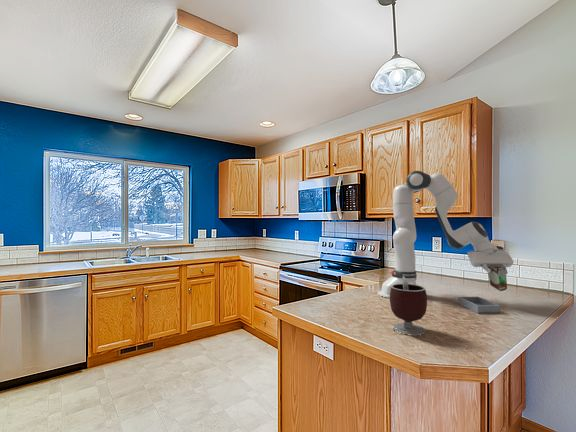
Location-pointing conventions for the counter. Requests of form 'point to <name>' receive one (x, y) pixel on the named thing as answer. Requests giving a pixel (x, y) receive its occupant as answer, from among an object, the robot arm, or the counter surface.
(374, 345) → the counter surface
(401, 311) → the mate gourd
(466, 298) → the tray
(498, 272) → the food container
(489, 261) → the robot arm
